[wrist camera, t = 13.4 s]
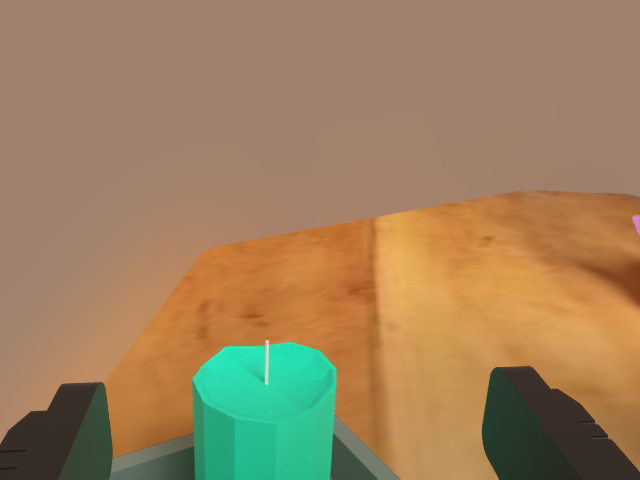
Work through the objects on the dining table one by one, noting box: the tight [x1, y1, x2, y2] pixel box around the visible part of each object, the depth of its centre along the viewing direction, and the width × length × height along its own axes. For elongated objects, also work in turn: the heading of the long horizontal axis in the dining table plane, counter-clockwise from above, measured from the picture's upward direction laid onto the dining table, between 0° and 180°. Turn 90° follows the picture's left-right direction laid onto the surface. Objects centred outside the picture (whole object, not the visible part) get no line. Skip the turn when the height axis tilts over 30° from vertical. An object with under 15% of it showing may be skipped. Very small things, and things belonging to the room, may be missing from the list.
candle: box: [192, 340, 337, 480], centre depth 25 cm, size 6×6×12 cm
